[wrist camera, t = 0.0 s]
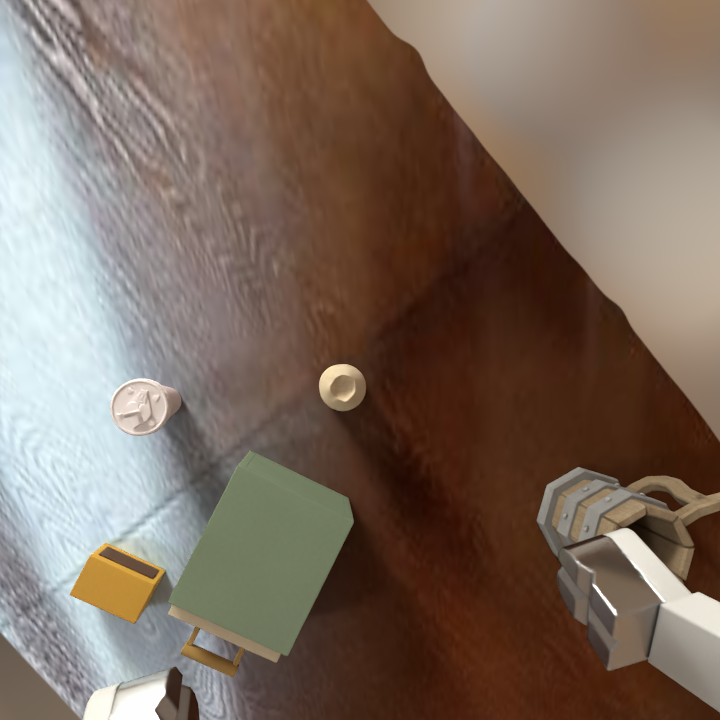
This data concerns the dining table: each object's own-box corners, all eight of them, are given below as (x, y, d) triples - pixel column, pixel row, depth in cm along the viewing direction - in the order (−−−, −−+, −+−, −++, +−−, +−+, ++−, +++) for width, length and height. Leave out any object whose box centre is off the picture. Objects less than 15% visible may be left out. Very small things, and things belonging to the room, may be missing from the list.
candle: (360, 404, 64) (367, 411, 54) (319, 405, 64) (319, 412, 54) (359, 364, 64) (367, 363, 54) (318, 364, 64) (319, 364, 54)
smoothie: (135, 418, 62) (82, 433, 48) (149, 371, 62) (100, 372, 48) (184, 431, 62) (145, 449, 48) (197, 384, 62) (163, 388, 48)
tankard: (564, 576, 66) (636, 636, 52) (523, 497, 66) (583, 535, 51) (680, 505, 68) (782, 544, 53) (641, 429, 68) (732, 446, 53)
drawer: (262, 664, 62) (254, 707, 54) (166, 621, 61) (144, 659, 53) (335, 517, 63) (337, 539, 55) (242, 473, 62) (232, 488, 54)
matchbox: (166, 569, 62) (155, 583, 57) (146, 607, 61) (133, 625, 57) (106, 541, 61) (90, 554, 57) (85, 580, 61) (68, 596, 57)
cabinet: (292, 611, 63) (287, 656, 53) (190, 565, 62) (167, 602, 52) (348, 498, 64) (354, 521, 54) (250, 450, 63) (237, 465, 53)
